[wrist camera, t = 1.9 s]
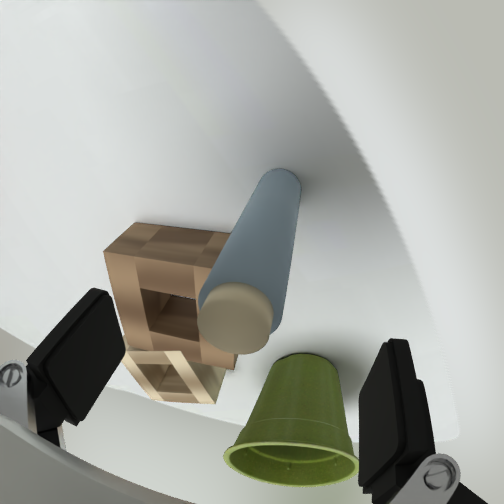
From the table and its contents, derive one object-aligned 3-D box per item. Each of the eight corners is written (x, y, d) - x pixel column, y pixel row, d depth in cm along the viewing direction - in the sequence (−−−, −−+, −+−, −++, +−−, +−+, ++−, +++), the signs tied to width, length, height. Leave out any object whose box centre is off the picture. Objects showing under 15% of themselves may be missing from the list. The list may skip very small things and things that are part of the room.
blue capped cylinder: (259, 166, 21) (184, 285, 9) (303, 171, 21) (284, 301, 9) (257, 206, 23) (192, 351, 11) (298, 211, 22) (274, 366, 11)
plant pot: (232, 342, 31) (199, 439, 21) (352, 327, 27) (357, 437, 17) (266, 406, 36) (248, 486, 26) (362, 397, 32) (363, 484, 22)
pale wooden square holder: (135, 318, 32) (113, 350, 27) (198, 313, 29) (180, 350, 25) (167, 368, 35) (151, 399, 31) (227, 367, 33) (215, 404, 28)
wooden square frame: (134, 222, 26) (103, 251, 21) (249, 236, 24) (234, 271, 20) (149, 311, 31) (128, 345, 26) (245, 330, 29) (233, 370, 25)
